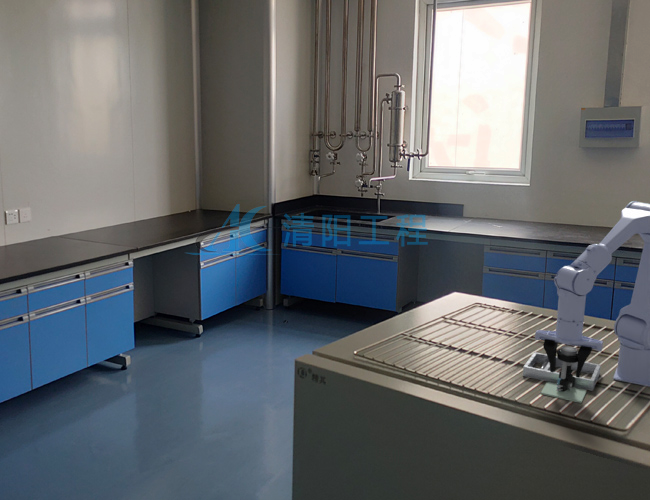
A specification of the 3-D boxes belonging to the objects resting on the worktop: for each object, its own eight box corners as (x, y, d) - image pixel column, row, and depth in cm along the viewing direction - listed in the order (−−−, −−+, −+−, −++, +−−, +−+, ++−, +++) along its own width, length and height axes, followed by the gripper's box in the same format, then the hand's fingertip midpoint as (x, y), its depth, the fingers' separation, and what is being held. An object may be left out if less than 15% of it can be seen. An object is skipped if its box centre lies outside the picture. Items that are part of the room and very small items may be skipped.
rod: (542, 365, 159) (548, 368, 158) (535, 375, 152) (541, 378, 152) (544, 360, 159) (550, 362, 158) (537, 370, 152) (543, 373, 151)
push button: (567, 396, 140) (572, 356, 138) (546, 389, 144) (550, 349, 141) (580, 388, 144) (585, 349, 142) (559, 381, 148) (563, 342, 146)
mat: (586, 391, 144) (586, 390, 143) (581, 403, 138) (581, 401, 138) (547, 383, 148) (547, 381, 148) (540, 393, 142) (540, 392, 142)
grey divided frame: (599, 374, 154) (600, 364, 153) (592, 390, 144) (593, 381, 143) (533, 360, 162) (534, 352, 161) (522, 376, 152) (523, 366, 152)
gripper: (533, 317, 139) (529, 372, 142) (601, 328, 132) (596, 386, 135) (540, 309, 145) (536, 362, 148) (606, 319, 138) (600, 375, 141)
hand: (565, 373), depth 142 cm, fingers closed on push button, 5 cm apart
